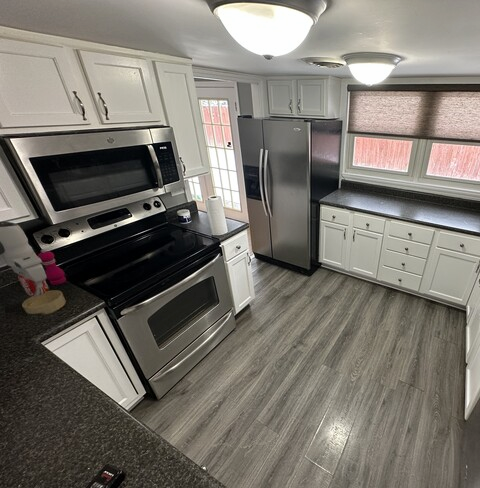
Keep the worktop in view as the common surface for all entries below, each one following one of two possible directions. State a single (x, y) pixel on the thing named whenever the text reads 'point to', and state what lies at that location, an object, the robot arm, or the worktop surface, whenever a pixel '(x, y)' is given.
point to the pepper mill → (51, 268)
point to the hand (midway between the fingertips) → (35, 284)
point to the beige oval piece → (44, 303)
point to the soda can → (32, 286)
